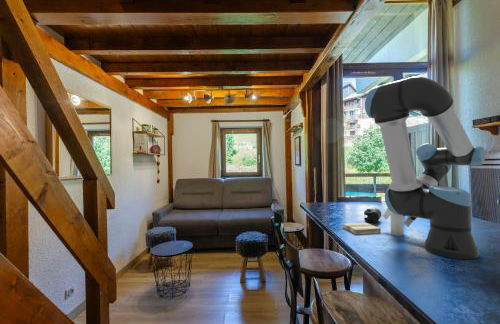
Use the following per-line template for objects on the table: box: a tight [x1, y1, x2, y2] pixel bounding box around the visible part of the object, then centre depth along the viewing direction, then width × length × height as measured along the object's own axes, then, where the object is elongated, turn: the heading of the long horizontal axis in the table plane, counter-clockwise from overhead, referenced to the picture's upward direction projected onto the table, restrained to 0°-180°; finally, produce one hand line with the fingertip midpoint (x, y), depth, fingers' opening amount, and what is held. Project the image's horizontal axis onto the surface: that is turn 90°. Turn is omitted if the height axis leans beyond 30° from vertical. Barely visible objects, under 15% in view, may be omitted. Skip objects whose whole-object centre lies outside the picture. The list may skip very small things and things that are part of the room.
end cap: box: [363, 208, 382, 225], centre depth 134 cm, size 10×7×7 cm
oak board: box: [342, 221, 382, 235], centre depth 119 cm, size 12×12×2 cm
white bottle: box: [389, 211, 405, 237], centre depth 112 cm, size 5×5×15 cm
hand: (394, 220), depth 112 cm, fingers open, 13 cm apart
